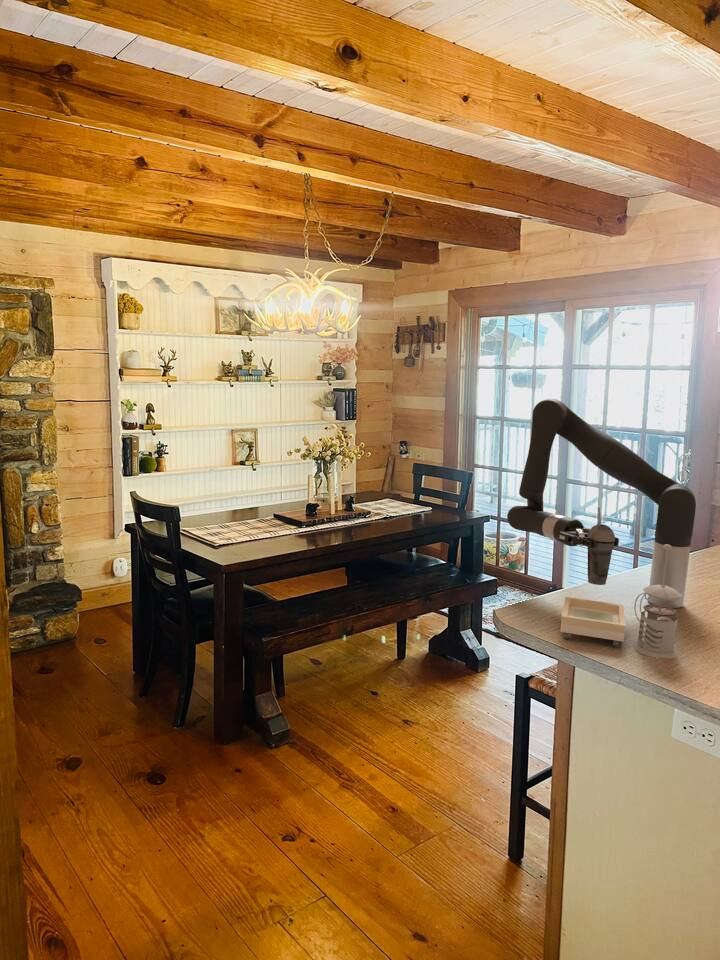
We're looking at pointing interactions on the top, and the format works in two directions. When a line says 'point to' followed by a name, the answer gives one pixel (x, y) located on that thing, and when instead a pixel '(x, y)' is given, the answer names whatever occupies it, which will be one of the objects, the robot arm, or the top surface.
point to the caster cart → (593, 619)
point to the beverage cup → (600, 553)
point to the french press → (658, 622)
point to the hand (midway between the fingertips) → (606, 543)
